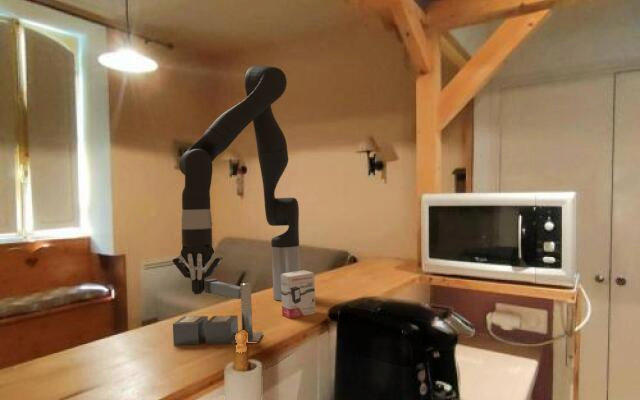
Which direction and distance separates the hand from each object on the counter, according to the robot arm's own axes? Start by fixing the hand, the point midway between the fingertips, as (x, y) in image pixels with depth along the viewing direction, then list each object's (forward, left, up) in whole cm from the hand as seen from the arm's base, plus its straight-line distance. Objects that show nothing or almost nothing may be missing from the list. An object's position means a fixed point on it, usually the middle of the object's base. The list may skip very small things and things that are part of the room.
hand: (198, 293), depth 105 cm
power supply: (+9, +9, -9) cm, 16 cm away
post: (+9, +15, -9) cm, 19 cm away
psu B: (+9, +1, -9) cm, 13 cm away
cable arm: (+2, +8, 0) cm, 8 cm away
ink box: (-11, +25, -9) cm, 29 cm away
